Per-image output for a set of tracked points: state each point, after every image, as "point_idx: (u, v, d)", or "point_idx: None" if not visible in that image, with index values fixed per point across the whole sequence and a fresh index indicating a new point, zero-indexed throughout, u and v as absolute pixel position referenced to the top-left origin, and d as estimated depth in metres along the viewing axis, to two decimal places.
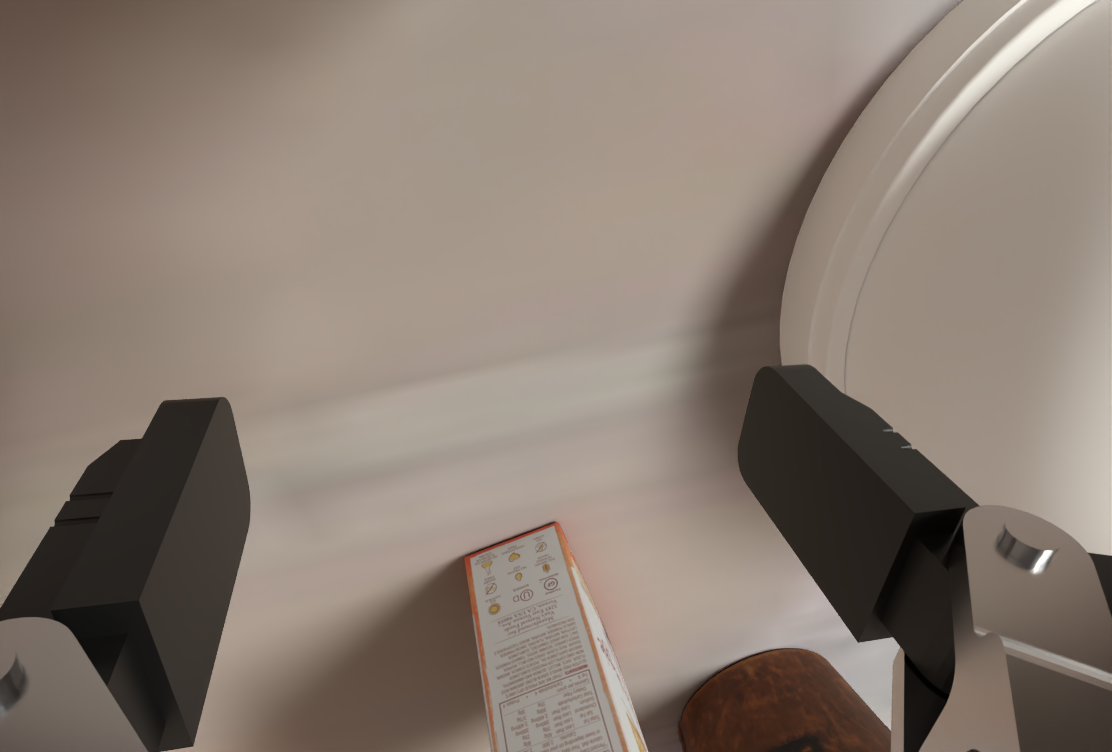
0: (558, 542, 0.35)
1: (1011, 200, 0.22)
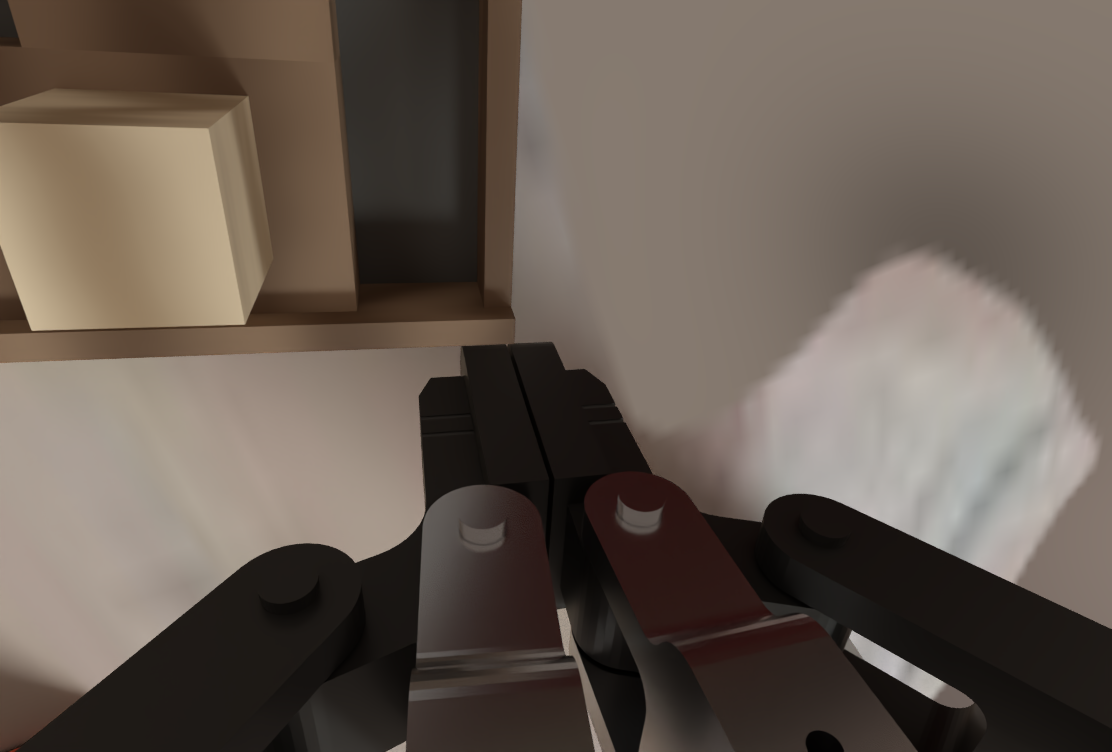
0: None
1: None
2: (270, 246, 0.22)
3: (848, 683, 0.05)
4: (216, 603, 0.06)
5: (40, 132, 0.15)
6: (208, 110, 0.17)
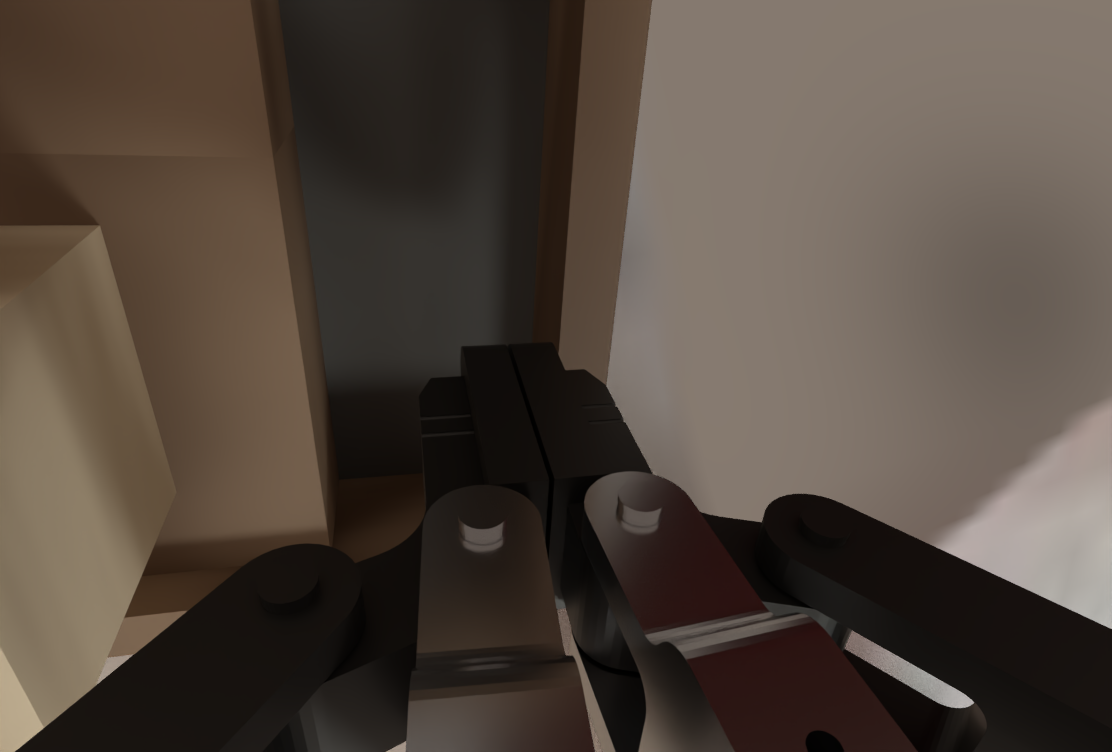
0: None
1: None
2: (168, 477, 0.12)
3: (848, 683, 0.05)
4: (216, 603, 0.06)
5: None
6: None
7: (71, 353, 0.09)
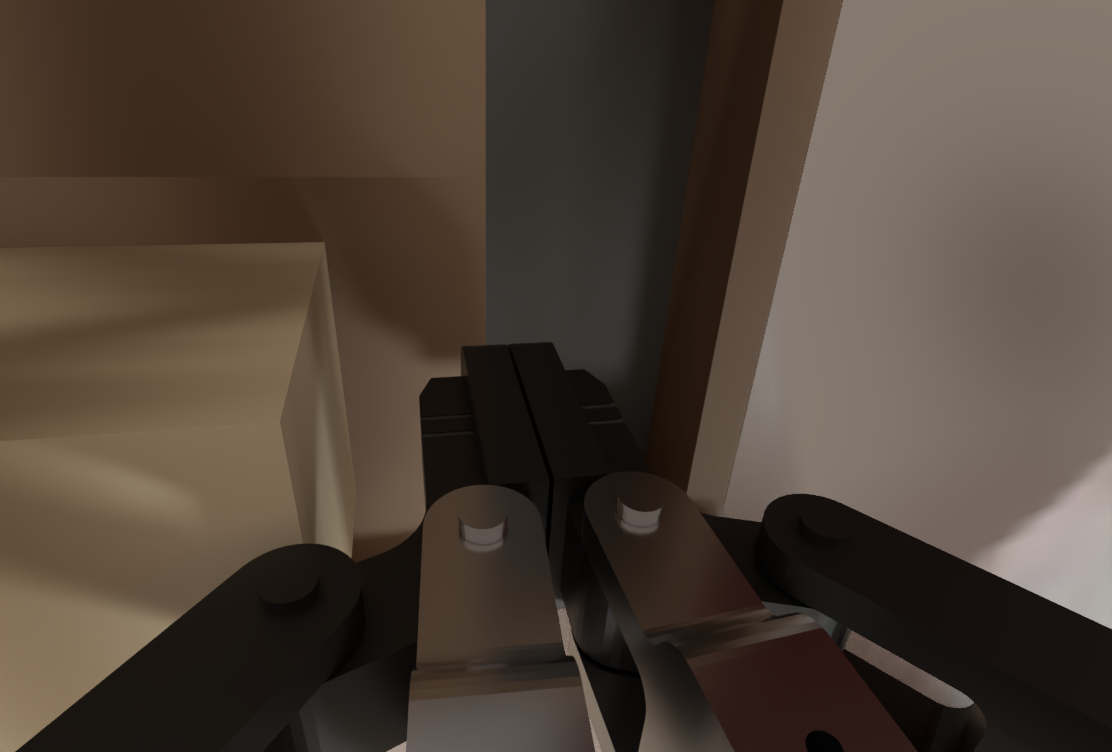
0: None
1: None
2: (353, 476, 0.13)
3: (847, 683, 0.05)
4: (216, 603, 0.06)
5: None
6: (262, 316, 0.08)
7: (323, 362, 0.09)
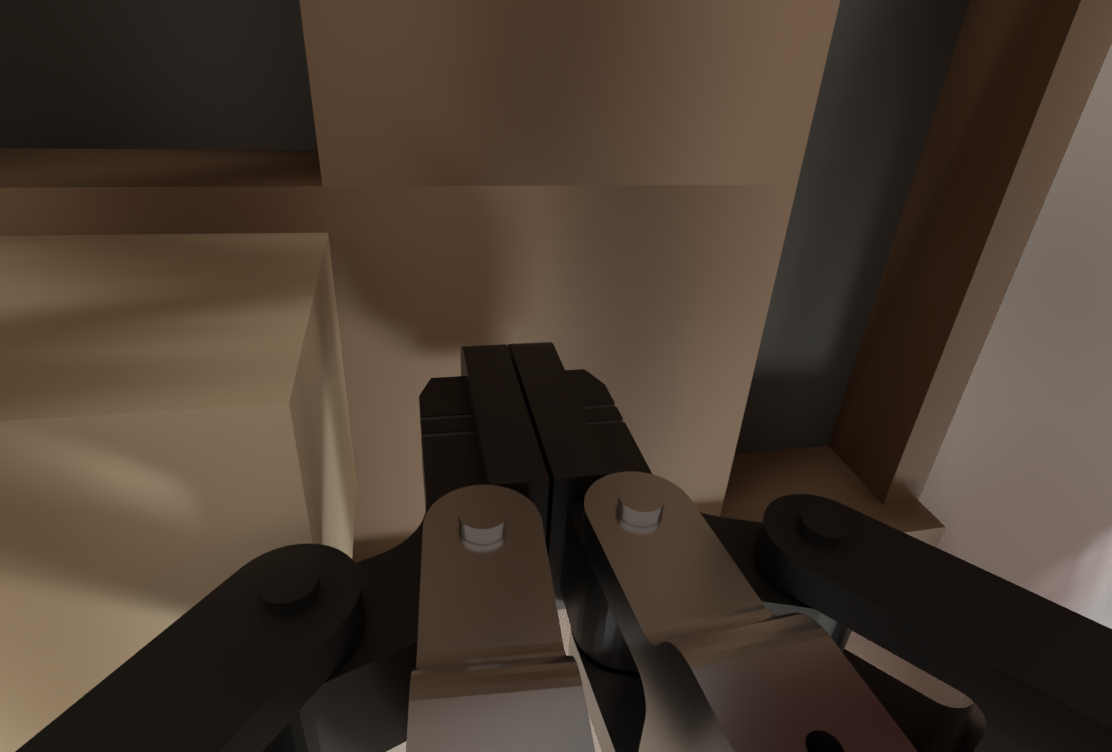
0: None
1: None
2: (354, 468, 0.13)
3: (848, 683, 0.05)
4: (216, 603, 0.06)
5: None
6: (268, 303, 0.08)
7: (327, 350, 0.09)
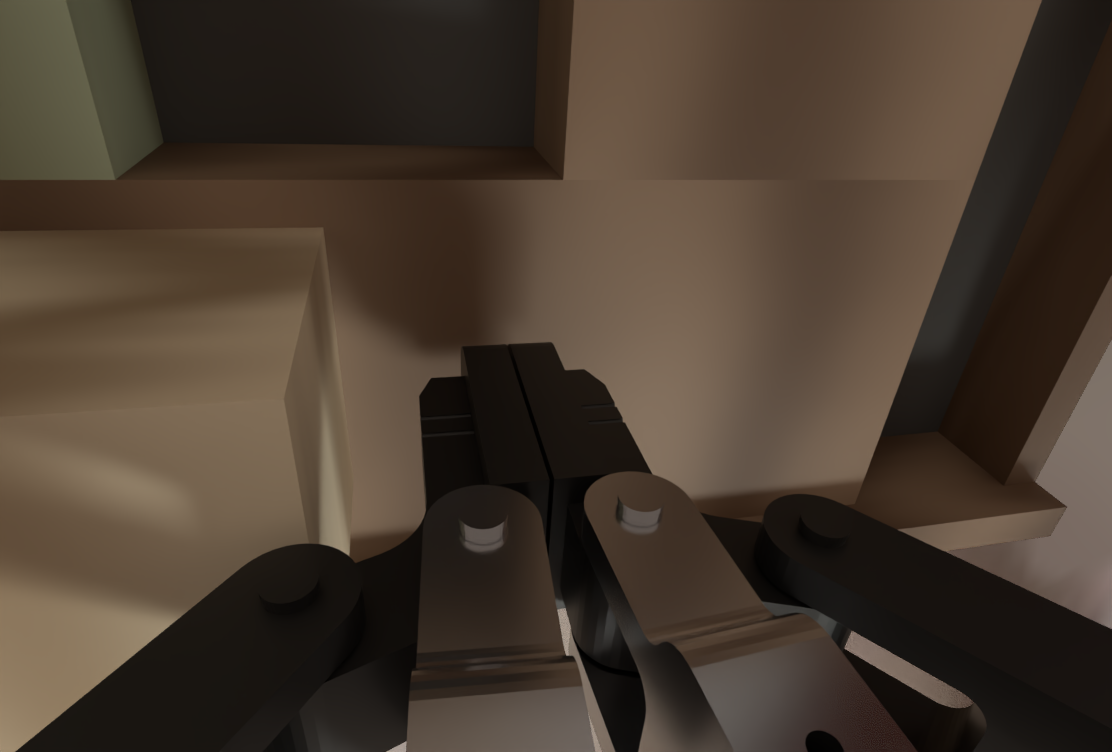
0: None
1: None
2: (350, 465, 0.12)
3: (848, 683, 0.05)
4: (217, 603, 0.06)
5: None
6: (263, 298, 0.08)
7: (322, 346, 0.09)
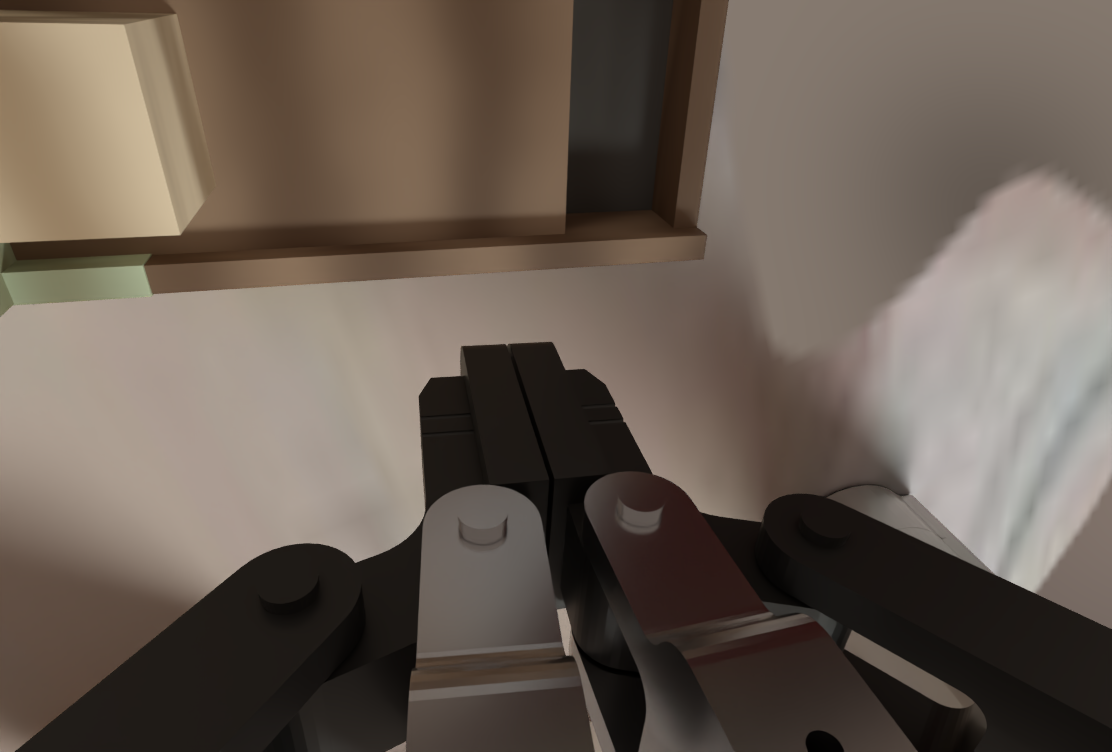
0: None
1: None
2: (211, 172, 0.22)
3: (848, 683, 0.05)
4: (216, 603, 0.06)
5: None
6: (130, 18, 0.17)
7: (171, 62, 0.18)
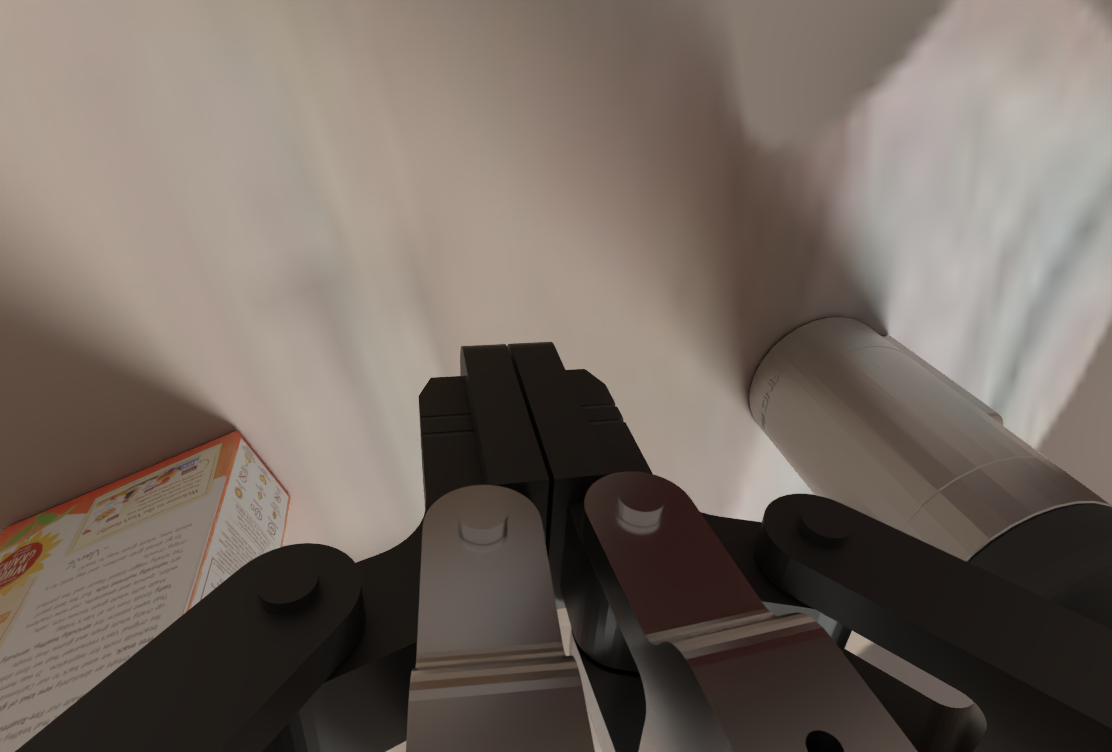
0: (285, 510, 0.38)
1: None
2: None
3: (848, 683, 0.05)
4: (216, 603, 0.06)
5: None
6: None
7: None
